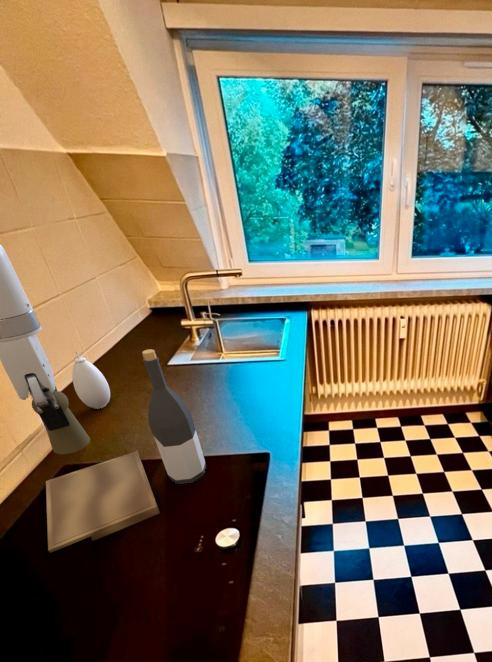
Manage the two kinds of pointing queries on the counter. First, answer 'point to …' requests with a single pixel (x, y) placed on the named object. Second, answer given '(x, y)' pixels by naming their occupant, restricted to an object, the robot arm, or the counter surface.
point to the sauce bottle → (90, 384)
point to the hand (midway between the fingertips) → (58, 419)
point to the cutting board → (98, 501)
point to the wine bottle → (173, 427)
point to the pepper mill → (66, 429)
